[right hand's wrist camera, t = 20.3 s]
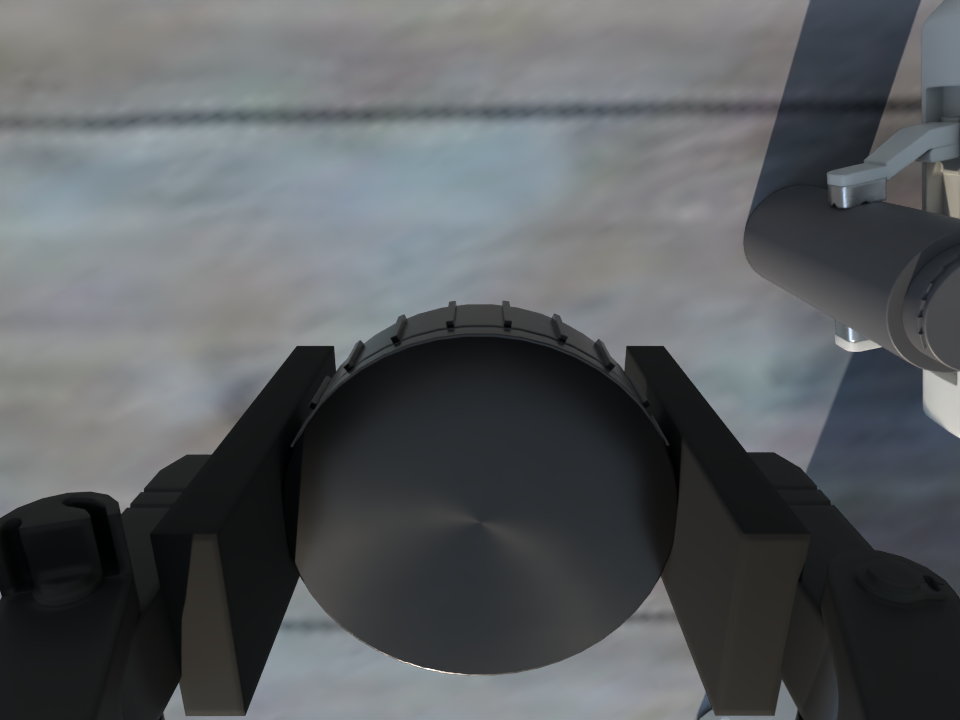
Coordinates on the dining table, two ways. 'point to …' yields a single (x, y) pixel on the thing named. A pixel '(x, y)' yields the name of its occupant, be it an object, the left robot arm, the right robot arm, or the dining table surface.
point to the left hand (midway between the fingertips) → (836, 265)
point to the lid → (480, 492)
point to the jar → (866, 269)
